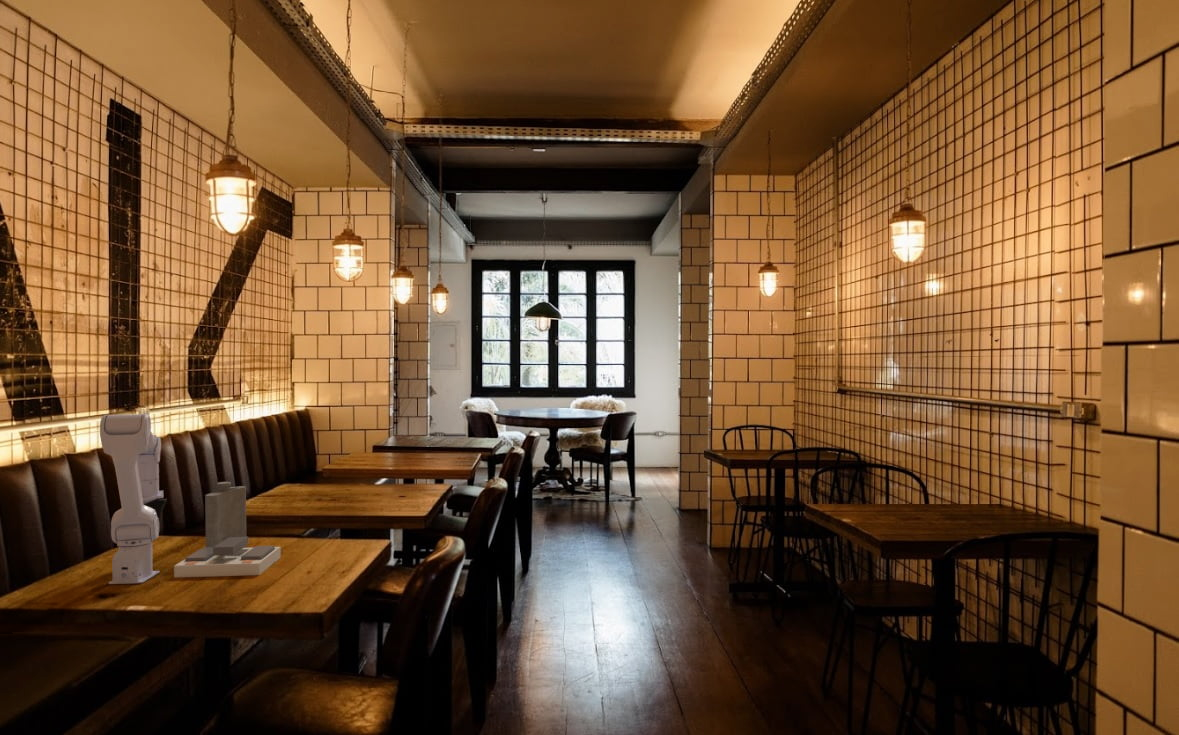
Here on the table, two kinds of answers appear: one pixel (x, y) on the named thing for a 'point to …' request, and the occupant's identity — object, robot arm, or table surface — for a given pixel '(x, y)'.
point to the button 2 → (257, 553)
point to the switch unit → (226, 565)
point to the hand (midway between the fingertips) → (147, 529)
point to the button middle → (230, 546)
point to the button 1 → (201, 555)
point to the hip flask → (225, 513)
